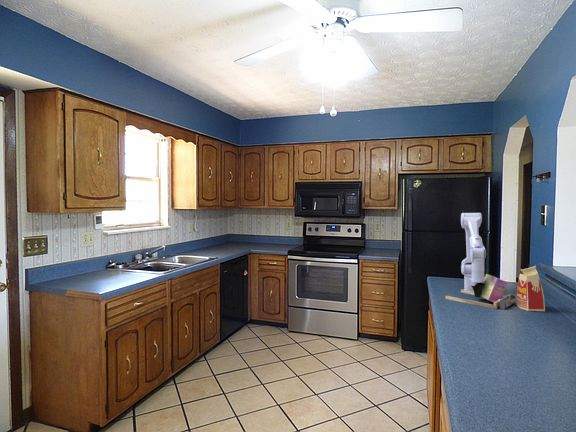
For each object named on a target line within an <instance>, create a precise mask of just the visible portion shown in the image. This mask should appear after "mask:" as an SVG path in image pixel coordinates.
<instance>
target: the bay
mask: <svg viewBox="0 0 576 432" xmlns="http://www.w3.org/2000/svg"><path fill="white" fill-rule="evenodd" d="M460 293H461V294H466V295H467V294H468V295H472V296H475V294H474V292H473V291H467V290H463V289H460ZM445 299H446V300H449V301H454V302H460V303H464V304H469V305H474V306H480V307H484V308H488V309H493V310H497V309H500V310H504V311H505V310H506V309H507V308H509V307H510V306H512V305H514V304H516V303H517V294H513V293H511V294H507V295H505V296H502V298H501V299H499V300H497V301H495V302H493V304H491V303H486V302H480V301H476V300H471V299H465V298H462V297H461V298H460V297H455V296H451V295H445Z"/></svg>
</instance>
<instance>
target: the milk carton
mask: <svg viewBox="0 0 576 432" xmlns="http://www.w3.org/2000/svg"><path fill="white" fill-rule="evenodd" d="M536 268H537V265H534V266H530V267H528V268H523V269H522V268H521V269H520V273H519V277H518V282H517V288H516V289H517V290H516V303H515V304H516V306H517V308H519V309H521V310H524V311H527V312H546V308H545V307H546V305H545V295H544V290H543V285H542V282H541V278H540V275H539V273H538V271H537V269H536Z"/></svg>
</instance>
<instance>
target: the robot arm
mask: <svg viewBox="0 0 576 432" xmlns="http://www.w3.org/2000/svg"><path fill="white" fill-rule="evenodd" d="M482 220H483V215H482V213H481V212H462V213H461V214H460V225H461V228H462V229H464V231H465V242H466V243H465V245H466V248H465V249H466V251H465V252H466V257H465V258H464V259H463V260H462V261H461V265H460V268H461V269H460V271H461V274H462V275H464V276H463V277H464V279H463V280H464V281H463V282H464V286H463V289H462V290H467V291H473V292H474V294H475V295H474V297H475V298H478V299H479V298H481V297H482V296H481V293H482V290H483V287H484V286H485V283H483V282H485V259H486V256H487V251H486V248H485V245H484V244H483V239H482V237H481V235H479V228H480V227H481V224H482V223H483V221H482Z"/></svg>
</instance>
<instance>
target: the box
mask: <svg viewBox="0 0 576 432" xmlns="http://www.w3.org/2000/svg"><path fill="white" fill-rule="evenodd" d="M484 277H485V282H482V283H485V286H484V287H483V290H482V293H481V297H482V298H483V299H484V300H486V301H489V302H492V303H494V302H495V301H497V300H499V299H501V298H502V297H503V295H504V292H505V290H506V287H507V285H508V281H506V280H503V279H501V278H499V277H496V276H494V275H491V274H489V273H488V274H487V273H486V274H485V275H484Z"/></svg>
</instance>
